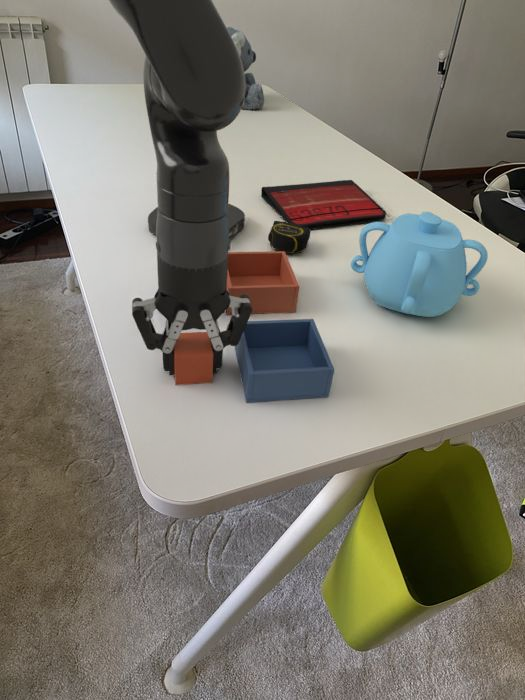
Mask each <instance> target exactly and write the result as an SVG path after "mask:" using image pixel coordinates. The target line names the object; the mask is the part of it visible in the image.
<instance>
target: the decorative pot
mask: <svg viewBox="0 0 525 700" xmlns="http://www.w3.org/2000/svg"><path fill="white" fill-rule="evenodd" d="M372 231H373V232H374V231H380V232H382V233H381V235H379V238H378V239H377V240H376V242H375V243H374V245H373V246H372V248H371V250H370V252H368V245H367V236H368V234H369V233H370V232H372ZM358 238H359V239H358V241H359V248H360V254H359V255H358V254H357V255H355V256H354V257H353V258H352V259H351V261H350V268H351V269H352V270H353V271H354V272H355V273H358V274H363V278H364V283H365V285H366V288H367V292H368V293H369V295H370V296H371V298H372V300H373V301H374V302H375V303H377V305H378V306H380V307H382V308H386V309H389V310H392V311H396V312H399V313H403V314H407V315H412V316H417V317H418V316H419V317H427V318H434V317H439V316H441V315H443V314H445V313H447V312H449V311H450V310H452V308H453V307H455V306H456V305H457V303H458V302H459V301H460V299H461V297H462V295H463V296H465V297H473V296H475V295H477V293H478V292H479V291H480V282H479V281H478V280H476V279H475V278H476V277H477V276H478V275H479V273H481V271H482V270H483V268H484V267H485V266H486V264H487V261H488V257H489V254H488V250H487V248H486V247H485V245H483V243H481V242H480V241H478V240H476V239H464V238H463V235H462V232H461V231H460V229H459V227H458V226H457V225H456V224H454V223H453V222H451V221H449V220H446V219H443V218H441V217H440V216H439V215H436V214H434V213H432V212H431V211H422V212H421V213H420V214H416V213H403V214H400V215H398V216H397V217H396V218H395V219H393V221H392V222H391V223H390V224H388V223H385V222H383V221H373V222H369V223H368V224H365V226H363V228H362V229H361V231H360V233H359V237H358ZM466 249H472V250H475V251H477V253H479V255H480V257H479V259H478V261H477V262H476V263H475V265H474V266H473V267H472V268H471V270H469V272H468V273H467V256H466ZM358 261H359V262H360V261H361V262H362V264H358V263H357V262H358ZM469 285H470V286H473V287H471V288H469V287H468V286H469Z"/></svg>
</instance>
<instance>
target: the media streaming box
mask: <svg viewBox="0 0 525 700" xmlns="http://www.w3.org/2000/svg"><path fill="white" fill-rule="evenodd" d="M157 213H158V206H156V207H155V208H154V209H153V210H152V211H150V213H149V214H148V216H147V225H148V231H149V232H150V234H152V235H155V236H156V222H157ZM245 219H246V214H245V212H244V211H243V210H242V209H241V208H240V207H237V206H235V205H233V204H231V203H228V220H229V241H230V240H231V239H233V238H234V237H235V236H236V235H238V233H240V232H241V230H243V229H244V227H245Z"/></svg>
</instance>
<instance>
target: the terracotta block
mask: <svg viewBox="0 0 525 700" xmlns="http://www.w3.org/2000/svg"><path fill="white" fill-rule="evenodd" d="M174 364H175V375H174V384H175V386H179V385H180V386H181V385H197V384H211V383H213V377H214V376H213V375H214V373H213V350H212V344H211V340H210V339H209V336H208V334H207V331H194V332H192V331H191V332H181V333H180V336H179V338H178V340H176V343H175V345H174Z"/></svg>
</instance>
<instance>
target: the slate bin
mask: <svg viewBox="0 0 525 700" xmlns="http://www.w3.org/2000/svg"><path fill="white" fill-rule="evenodd" d="M325 346H326V345H325V344H324V341H323V339H322V337H321V334H320V332H319V330H318V327H317V325H316V321H315V320H314V318H299V319H298V318H297V319H296V318H295V319H271V320H248V322H247V324H246V327H245V329H244V331H243V334H242V336H241V338H240V341H239V343H238V345H236V346H234V351H235V355H236V356H235V358H236V361H237V365H238V371H239V375H240V380H241V383H242V388H243V394H244V397H245V401H246V403H261V402H275V401H291V400H292V401H293V400H306V399H307V400H308V399H320V398H323V399H324V398H329V397H330V393H331V388H332V384H333V378H334V374H335V370H336V369H335V367H334V365H333V362H332V360H331V358H330V356H329V353H328V351H327V349H326V347H325Z"/></svg>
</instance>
